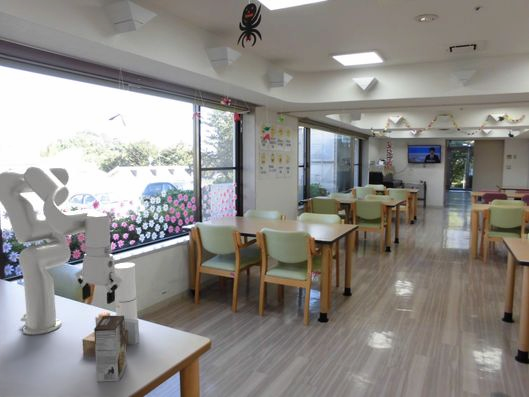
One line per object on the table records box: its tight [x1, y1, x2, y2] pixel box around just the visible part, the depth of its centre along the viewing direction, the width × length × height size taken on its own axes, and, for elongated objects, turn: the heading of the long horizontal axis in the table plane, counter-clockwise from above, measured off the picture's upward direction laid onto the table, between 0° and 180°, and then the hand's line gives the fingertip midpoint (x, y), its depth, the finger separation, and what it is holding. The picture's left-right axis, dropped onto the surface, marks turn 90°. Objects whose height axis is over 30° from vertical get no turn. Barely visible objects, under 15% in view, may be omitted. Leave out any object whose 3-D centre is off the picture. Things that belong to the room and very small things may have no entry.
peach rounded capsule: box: [97, 311, 111, 322], centre depth 132 cm, size 4×4×12 cm
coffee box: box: [93, 315, 128, 383], centre depth 117 cm, size 9×6×16 cm
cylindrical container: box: [114, 262, 138, 320], centre depth 144 cm, size 7×7×25 cm
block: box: [81, 330, 129, 357], centre depth 133 cm, size 10×10×5 cm
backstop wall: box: [94, 315, 140, 346], centre depth 138 cm, size 16×2×8 cm, turn 73°
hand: (98, 300), depth 133 cm, fingers open, 9 cm apart
